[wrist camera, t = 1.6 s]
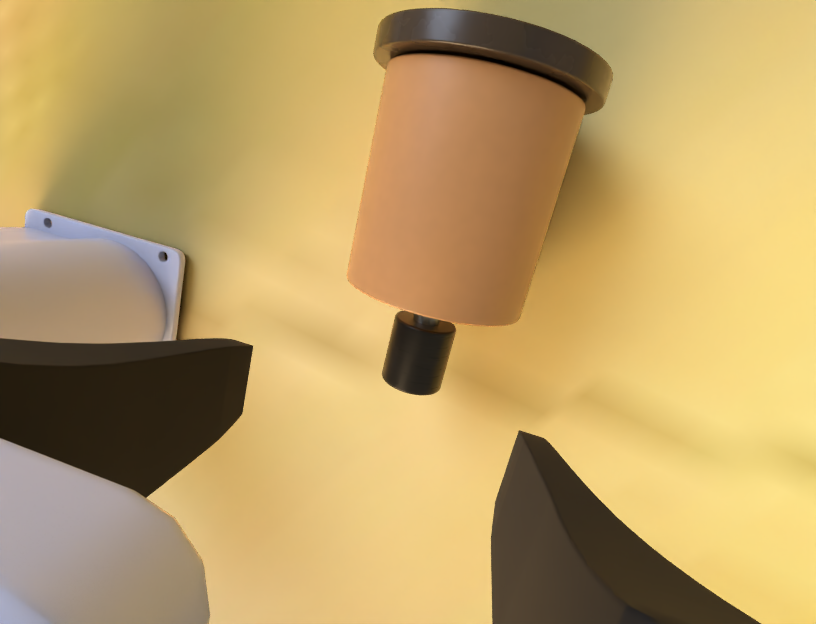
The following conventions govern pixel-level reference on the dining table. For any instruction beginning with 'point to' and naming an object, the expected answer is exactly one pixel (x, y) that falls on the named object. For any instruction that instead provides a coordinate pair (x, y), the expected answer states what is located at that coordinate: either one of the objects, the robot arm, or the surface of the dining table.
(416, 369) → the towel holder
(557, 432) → the dining table surface
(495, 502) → the robot arm
